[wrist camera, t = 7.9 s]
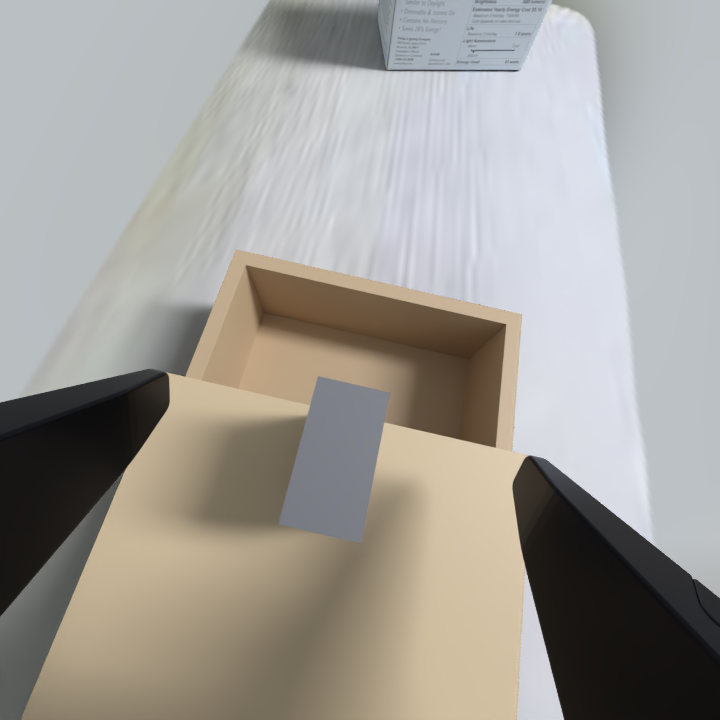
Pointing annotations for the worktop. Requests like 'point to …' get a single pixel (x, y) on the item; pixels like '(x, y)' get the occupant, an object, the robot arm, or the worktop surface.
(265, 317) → the wooden box
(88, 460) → the robot arm
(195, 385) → the sliding lid
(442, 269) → the worktop surface
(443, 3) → the light bulb box
